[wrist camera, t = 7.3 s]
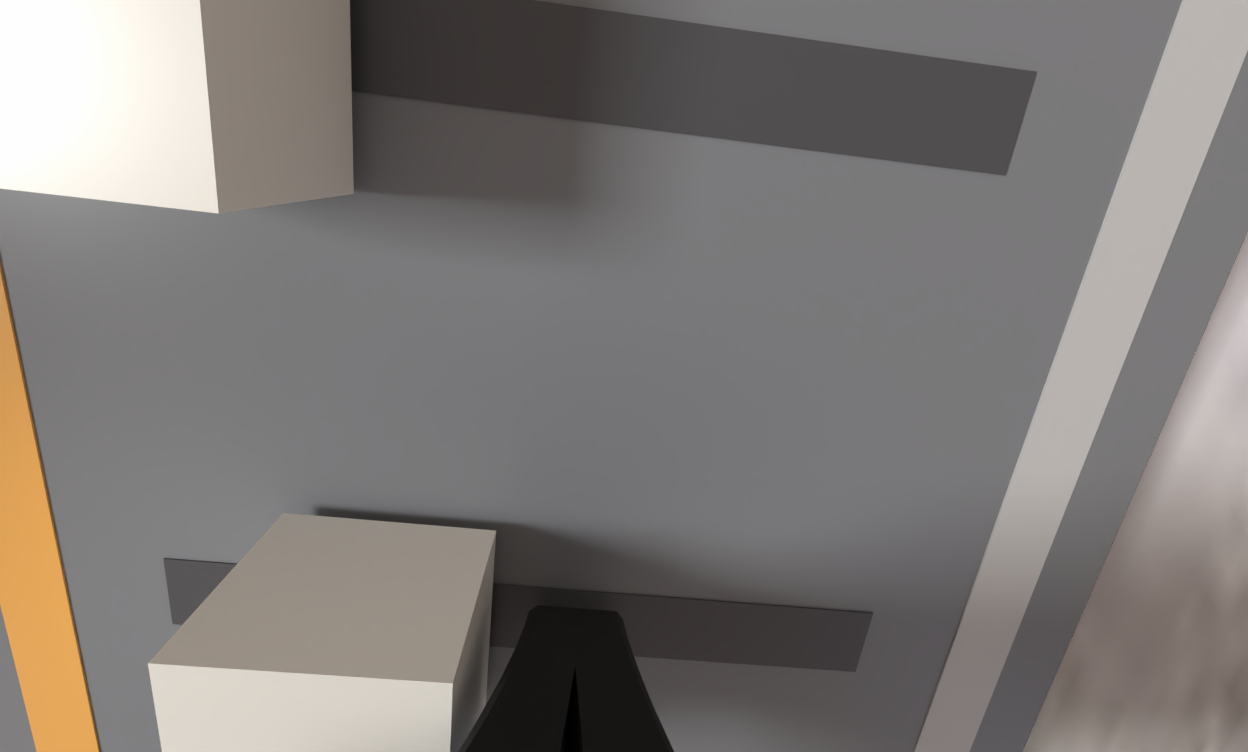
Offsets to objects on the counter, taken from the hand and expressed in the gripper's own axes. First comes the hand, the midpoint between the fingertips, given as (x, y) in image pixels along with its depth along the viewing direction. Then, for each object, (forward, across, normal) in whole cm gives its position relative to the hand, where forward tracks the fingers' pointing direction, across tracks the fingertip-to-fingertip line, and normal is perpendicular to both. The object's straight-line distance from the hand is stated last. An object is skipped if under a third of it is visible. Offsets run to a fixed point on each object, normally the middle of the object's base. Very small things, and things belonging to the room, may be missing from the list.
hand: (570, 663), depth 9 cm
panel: (+2, +1, 0) cm, 2 cm away
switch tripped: (+1, +3, 0) cm, 3 cm away
